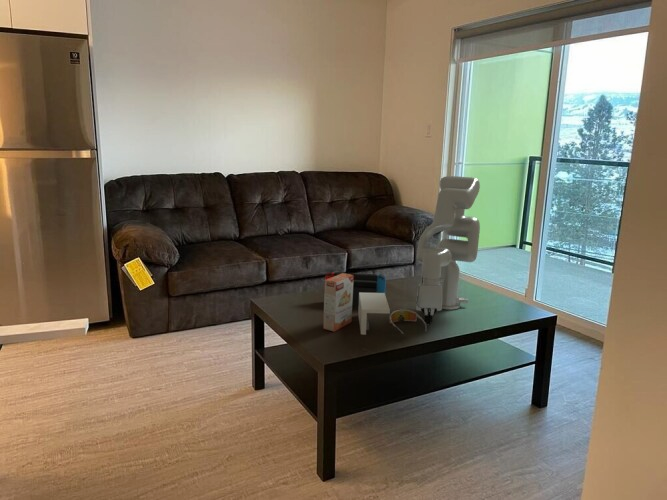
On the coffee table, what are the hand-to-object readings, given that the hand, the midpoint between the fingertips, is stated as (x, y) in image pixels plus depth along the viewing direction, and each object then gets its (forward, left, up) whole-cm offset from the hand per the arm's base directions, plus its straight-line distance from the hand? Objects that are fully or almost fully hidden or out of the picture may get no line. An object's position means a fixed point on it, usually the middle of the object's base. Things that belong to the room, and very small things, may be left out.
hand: (427, 323), depth 220 cm
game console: (+29, -27, -2) cm, 40 cm away
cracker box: (+37, +2, -1) cm, 37 cm away
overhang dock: (+23, 0, -1) cm, 23 cm away
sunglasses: (+9, +1, -2) cm, 9 cm away
